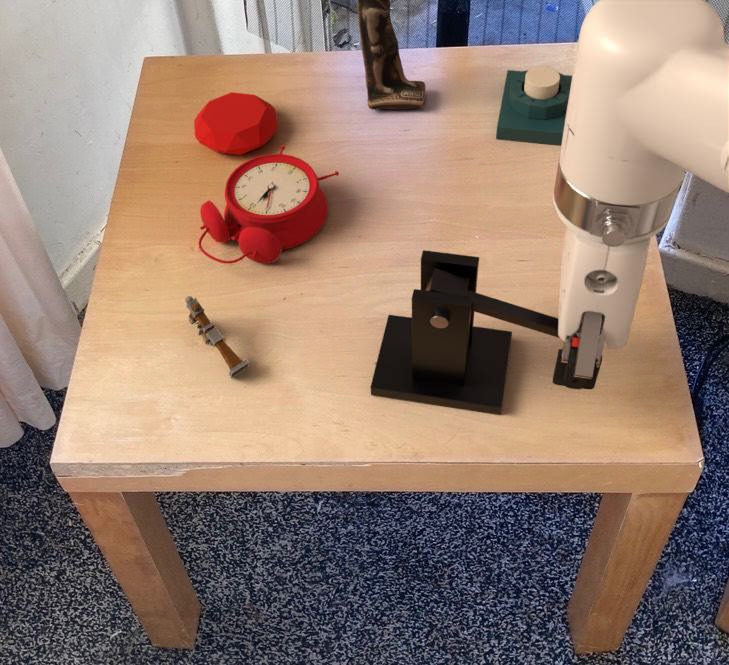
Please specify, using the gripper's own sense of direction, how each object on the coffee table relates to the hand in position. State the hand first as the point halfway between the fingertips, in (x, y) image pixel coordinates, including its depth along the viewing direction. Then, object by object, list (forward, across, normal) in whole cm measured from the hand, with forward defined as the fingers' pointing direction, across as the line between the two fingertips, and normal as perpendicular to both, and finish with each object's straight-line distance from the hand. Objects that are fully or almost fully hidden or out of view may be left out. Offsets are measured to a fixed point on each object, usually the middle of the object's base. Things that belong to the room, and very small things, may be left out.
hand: (575, 353), depth 68 cm
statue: (+5, +35, +22) cm, 41 cm away
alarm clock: (+5, +14, +31) cm, 34 cm away
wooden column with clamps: (+5, -2, +31) cm, 31 cm away
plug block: (+5, +36, +6) cm, 36 cm away
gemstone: (+4, +27, +38) cm, 47 cm away
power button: (+1, +35, +6) cm, 36 cm away
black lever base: (+5, 0, +11) cm, 12 cm away
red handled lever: (-3, 0, +6) cm, 7 cm away
